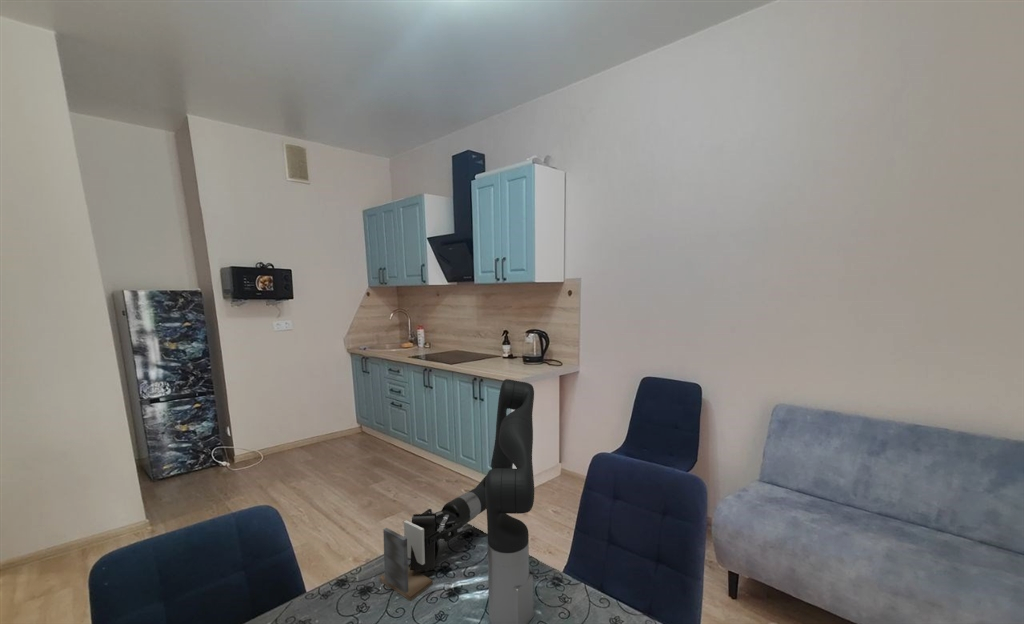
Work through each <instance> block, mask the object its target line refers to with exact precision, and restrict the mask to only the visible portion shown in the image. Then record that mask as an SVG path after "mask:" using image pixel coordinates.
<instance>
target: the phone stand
mask: <svg viewBox="0 0 1024 624" xmlns="http://www.w3.org/2000/svg"><path fill="white" fill-rule="evenodd" d="M411 523H413V524H415V525H417V526H419V527H421V528H424V546H425V564H423V565H421V564H420V563H418V562H417V560H416V557H415V554H414V551H413V548H412V546H411V558H410V566H409V567H410V570H416V571H423V570H425V571H426V570H428V571H429V570H431V571H432V570H434V569H435V567H436V562H437V559H438V555H439V551H440V540H438V541H436V542H435V543H433V544H431V545H429V546H426V545H425V538H426V537H427V536H428V535H430V534H431V533H435V531H437V532H438V530H437V523H436V514H422V513H417V514H416V513H415V514H412V516H411Z"/></svg>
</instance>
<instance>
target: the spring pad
mask: <svg viewBox="0 0 1024 624" xmlns="http://www.w3.org/2000/svg"><path fill="white" fill-rule="evenodd" d="M403 535H404V537H405V538H407V555H408V558H409V559H411V546H412V548H413V551H414V554H415V557H416V560H417V562H418V563H420V564H421V565H423V564H425V546H424V528H421V527H419V526H417V525H415V524H413V523H412V521H409V520H407V519H405V520H404V521H403Z"/></svg>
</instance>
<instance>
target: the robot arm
mask: <svg viewBox="0 0 1024 624" xmlns="http://www.w3.org/2000/svg"><path fill="white" fill-rule="evenodd" d="M499 389H500V390H499V395H498V401H497V413H496V421H495V422H496V423H495V425H496V426H495V437H494V445H493V451H492V456H491V460H490V461H491V462H490V467H491V469H489V470H488V472H487V473H486V475H485V476H484V477H483V479H481V481H480V482H479V483H478V484H477V486H475V488H472V489H471V490H469V491H467V492H465V493H463V494H460V495H459V496H457V497H456V498H454V499H452V500H449V501H448V502H446V503H445V504H444V505H443V507H442V508H441V509H440V511H436V512H433V510H432V509H431V508H428V509H427V510H425V511H423V512H422V513H421V514H436V523H437V531H435V533H431V534H430V535H428V536H427V537H426V538H425V545H426V546H429V545H431V544H433V543H435V542H436V541H442V540H443V541H444V542H449V541H451V540H453V539H454V538H456V537H458V536H460V535H461V534H463V533H464V525H467V523H469V522H471V521H472V520H473V519H475V518H476V517H477V516H478V515H480V514H481V513H482V512H484V511H486V526H487V527H486V528H487V572H488V573H487V575H488V576H487V580H488V581H487V583H488V584H487V585H488V586H487V587H488V619H489V622H490V624H528V623H529V622H530V621H531V620H532V619H533V618H534V615H535V613H534V611H535V609H534V575H533V574H531V573H530V554H529V553H530V550H529V549H530V547H529V544H530V543H529V539H530V538H529V529H528V527H527V525H526V524H525V523H524V522H523V521H522V520H520V519H518V518H515V517H513V516H511V515H509V514H517V515H521V514H526V513H529V512H531V510H532V509H533V506H534V503H535V502H534V501H535V478H534V467H533V465H534V464H533V445H534V443H533V442H534V427H533V424H534V423H533V410H534V400H535V390H534V386H533V384H531V383H529V382H525V381H521V380H515V379H509V378H505V379H504V380H503V381H502V383H501V385H500V388H499ZM508 410H513V411H511V412H509V413H508V414H507V411H508ZM513 465H514V466H515V468H513Z"/></svg>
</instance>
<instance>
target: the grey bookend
mask: <svg viewBox="0 0 1024 624" xmlns="http://www.w3.org/2000/svg"><path fill="white" fill-rule="evenodd" d="M382 533H383V563H384V564H383V565H384V566H383V567H384V569H383V570H384V574H383V575H381V576H380V577H379V581H380V582H381V583H383V584H384V585H385V586H387V587H389V588H390V589H392V590H394V591H395V592H396V593H397V594H399V595H400V596H401V597H404V598H405V599H407V600H408V601H409V602H411V601H412V600H414V599H415V598H417V597H418V596H419V595H421V594H422V593H423V592H424V591H426V590H428V588H430V587H431V586H432V585H433V584H434V580H433V579H431V578H429V577H428V576H427V575H424V574H423V573H421V572H419V570H410V566H409V563H408V561H409V560H408V558H409V557H408V555H407V538H405V537H404V536H403V535H401V534H400V533H398V532H396V531H394V530H392V529H390V528H388V527H385V528H384V529H383V532H382Z"/></svg>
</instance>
